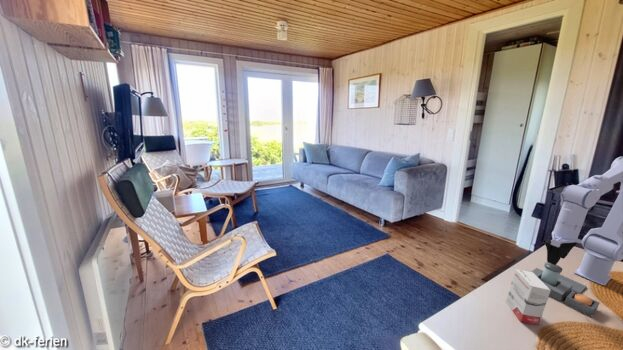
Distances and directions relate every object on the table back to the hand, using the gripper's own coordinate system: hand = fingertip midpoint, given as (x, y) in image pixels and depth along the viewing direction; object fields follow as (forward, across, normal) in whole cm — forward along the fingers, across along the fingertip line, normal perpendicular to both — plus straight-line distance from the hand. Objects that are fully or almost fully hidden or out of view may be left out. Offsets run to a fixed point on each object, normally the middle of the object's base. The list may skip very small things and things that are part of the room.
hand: (555, 260), depth 86 cm
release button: (+10, -2, -9) cm, 13 cm away
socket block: (+10, 0, 0) cm, 10 cm away
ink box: (+11, -22, -1) cm, 24 cm away
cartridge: (+10, 0, 0) cm, 10 cm away
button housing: (+10, -2, -9) cm, 14 cm away
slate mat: (+10, +9, -4) cm, 14 cm away
